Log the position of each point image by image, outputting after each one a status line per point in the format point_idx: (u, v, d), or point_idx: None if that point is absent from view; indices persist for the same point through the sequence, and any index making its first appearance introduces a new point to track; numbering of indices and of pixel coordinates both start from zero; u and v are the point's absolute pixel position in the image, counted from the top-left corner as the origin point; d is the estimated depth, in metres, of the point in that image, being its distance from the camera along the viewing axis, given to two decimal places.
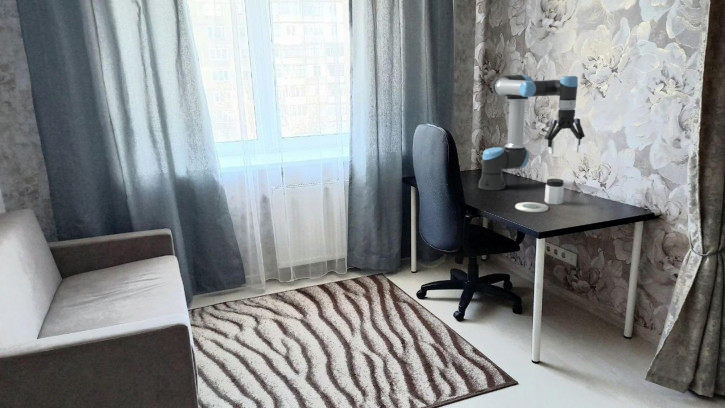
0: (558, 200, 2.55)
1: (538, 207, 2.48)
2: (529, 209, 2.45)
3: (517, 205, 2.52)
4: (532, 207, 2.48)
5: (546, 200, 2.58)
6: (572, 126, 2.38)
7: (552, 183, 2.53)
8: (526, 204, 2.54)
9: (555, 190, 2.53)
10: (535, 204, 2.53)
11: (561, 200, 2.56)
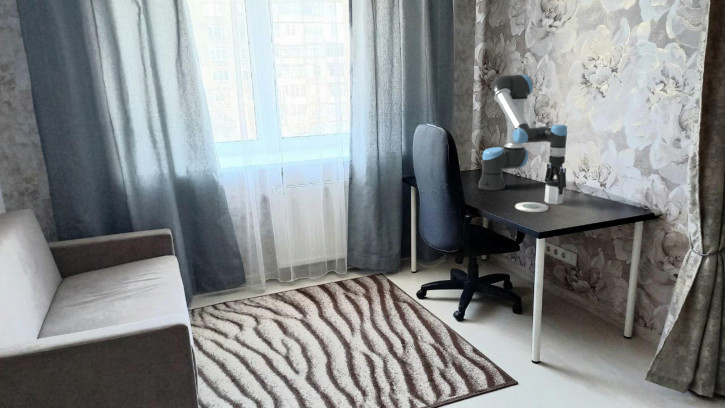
0: (558, 200, 2.55)
1: (538, 207, 2.48)
2: (529, 209, 2.45)
3: (517, 205, 2.52)
4: (532, 207, 2.48)
5: (546, 200, 2.58)
6: (555, 172, 2.52)
7: (552, 183, 2.53)
8: (526, 204, 2.54)
9: (555, 190, 2.53)
10: (535, 204, 2.53)
11: (561, 200, 2.56)
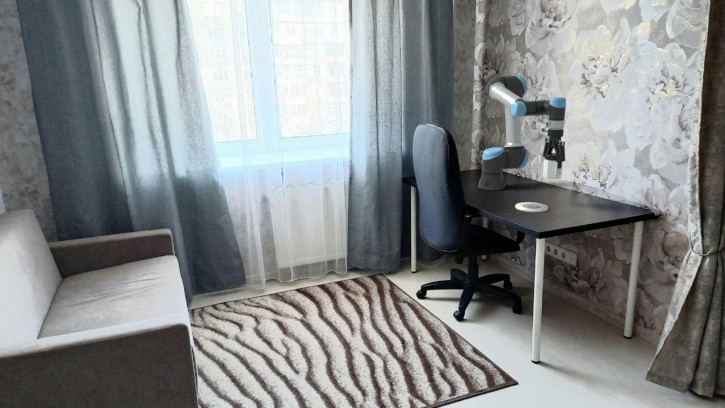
0: None
1: (538, 207, 2.48)
2: (529, 209, 2.45)
3: (517, 205, 2.52)
4: (532, 207, 2.48)
5: (544, 175, 2.53)
6: (554, 146, 2.47)
7: (551, 157, 2.48)
8: (526, 204, 2.54)
9: (554, 164, 2.48)
10: (535, 204, 2.53)
11: (560, 175, 2.51)
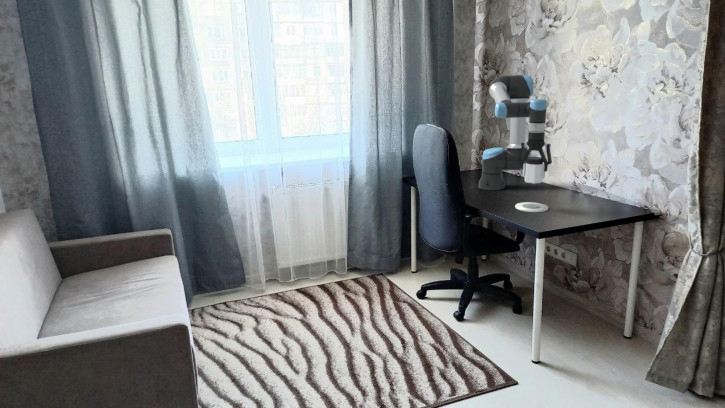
0: (541, 178, 2.44)
1: (538, 207, 2.48)
2: (529, 209, 2.45)
3: (517, 205, 2.52)
4: (532, 207, 2.48)
5: (530, 180, 2.44)
6: (538, 149, 2.40)
7: (538, 161, 2.40)
8: (526, 204, 2.54)
9: (540, 168, 2.42)
10: (535, 204, 2.53)
11: None
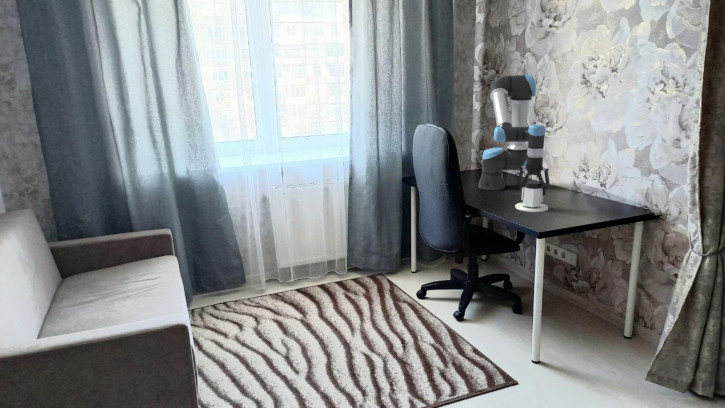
0: (540, 202, 2.47)
1: (538, 207, 2.48)
2: (529, 209, 2.45)
3: (517, 205, 2.52)
4: (532, 207, 2.48)
5: (528, 204, 2.47)
6: (537, 174, 2.43)
7: (536, 185, 2.43)
8: None
9: (539, 192, 2.45)
10: None
11: None
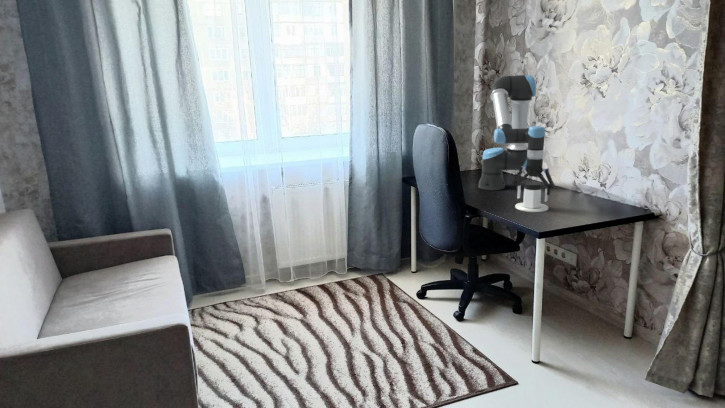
0: None
1: None
2: (529, 209, 2.45)
3: (517, 205, 2.52)
4: None
5: (528, 205, 2.47)
6: (538, 175, 2.43)
7: (536, 187, 2.44)
8: None
9: (539, 193, 2.45)
10: None
11: None
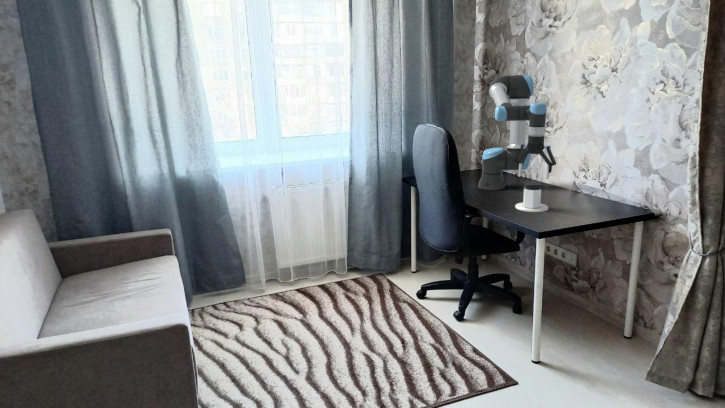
0: None
1: None
2: (529, 209, 2.45)
3: (517, 205, 2.52)
4: None
5: (528, 205, 2.47)
6: (539, 152, 2.40)
7: (536, 187, 2.44)
8: None
9: (539, 193, 2.45)
10: None
11: None
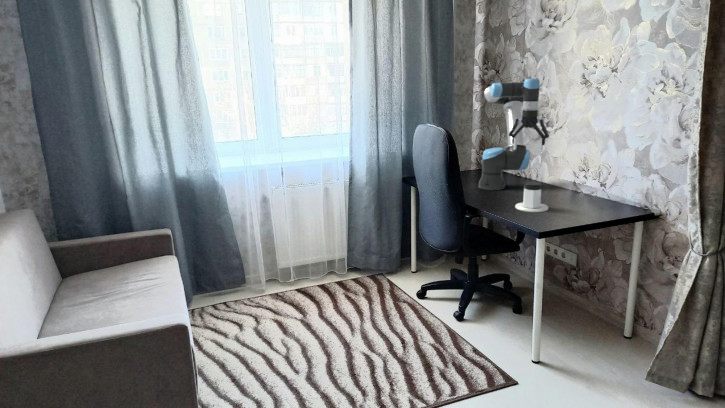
0: None
1: None
2: (529, 209, 2.45)
3: (517, 205, 2.52)
4: None
5: (528, 205, 2.47)
6: (533, 126, 2.53)
7: (536, 187, 2.44)
8: None
9: (539, 193, 2.45)
10: None
11: None
